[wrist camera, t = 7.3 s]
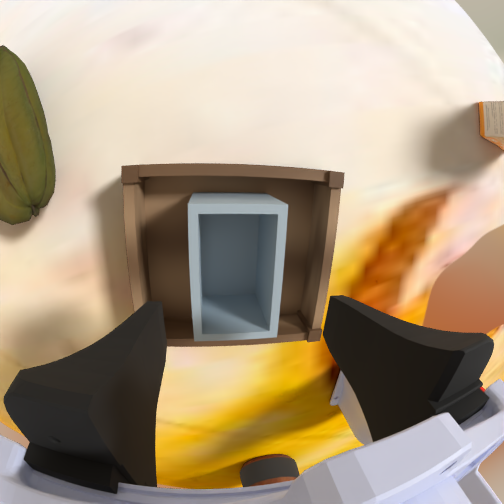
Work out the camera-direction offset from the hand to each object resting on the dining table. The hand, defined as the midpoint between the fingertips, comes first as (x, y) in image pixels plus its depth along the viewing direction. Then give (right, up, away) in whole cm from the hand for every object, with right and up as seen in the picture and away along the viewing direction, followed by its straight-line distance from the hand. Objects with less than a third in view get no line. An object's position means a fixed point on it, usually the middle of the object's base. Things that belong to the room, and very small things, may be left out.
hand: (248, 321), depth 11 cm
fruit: (-18, +13, +4) cm, 22 cm away
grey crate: (-2, +3, +9) cm, 9 cm away
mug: (+2, -31, +21) cm, 38 cm away
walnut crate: (-2, +3, +9) cm, 10 cm away
